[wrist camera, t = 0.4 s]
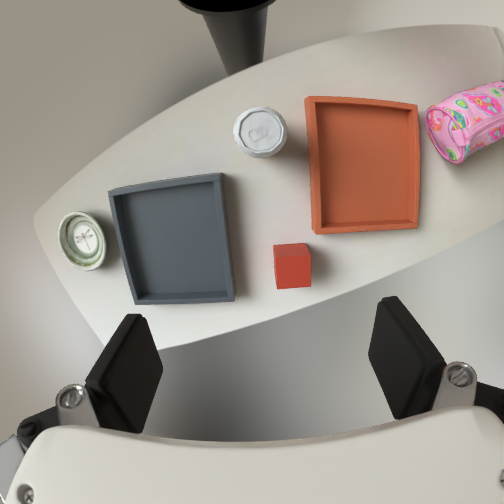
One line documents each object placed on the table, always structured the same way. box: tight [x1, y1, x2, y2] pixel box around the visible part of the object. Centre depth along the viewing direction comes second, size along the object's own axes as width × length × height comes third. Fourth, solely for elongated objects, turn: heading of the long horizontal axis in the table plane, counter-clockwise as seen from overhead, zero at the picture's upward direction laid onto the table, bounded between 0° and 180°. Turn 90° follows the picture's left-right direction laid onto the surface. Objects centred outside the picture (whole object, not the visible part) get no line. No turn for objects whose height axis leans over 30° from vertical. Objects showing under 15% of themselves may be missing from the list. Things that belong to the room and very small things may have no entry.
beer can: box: [234, 106, 288, 158], centre depth 27 cm, size 5×5×12 cm
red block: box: [273, 243, 311, 289], centre depth 37 cm, size 4×4×4 cm
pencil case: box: [425, 81, 504, 164], centre depth 26 cm, size 21×9×9 cm, turn 118°
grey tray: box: [108, 173, 236, 305], centre depth 37 cm, size 18×16×3 cm
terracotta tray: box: [304, 96, 420, 234], centre depth 33 cm, size 18×16×3 cm
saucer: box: [58, 211, 107, 271], centre depth 37 cm, size 10×10×2 cm
